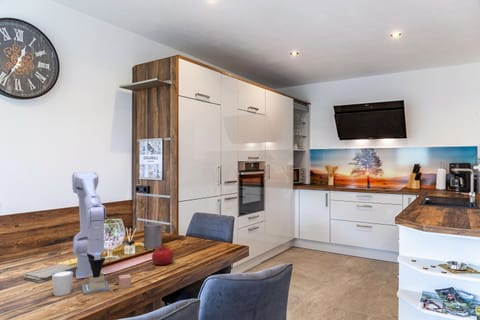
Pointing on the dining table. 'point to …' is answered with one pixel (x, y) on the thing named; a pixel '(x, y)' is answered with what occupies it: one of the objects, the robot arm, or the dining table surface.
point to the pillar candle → (152, 235)
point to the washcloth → (48, 273)
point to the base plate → (87, 290)
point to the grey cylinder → (62, 282)
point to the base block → (96, 281)
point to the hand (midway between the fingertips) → (95, 274)
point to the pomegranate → (162, 256)
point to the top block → (124, 281)
